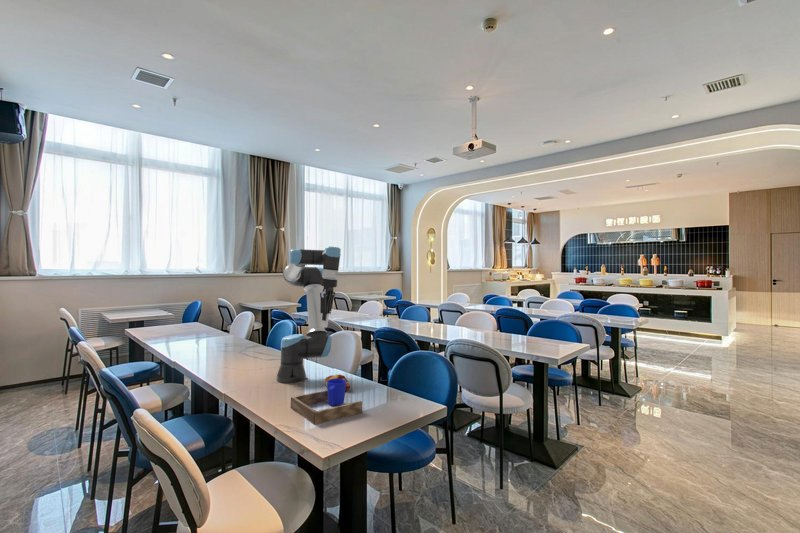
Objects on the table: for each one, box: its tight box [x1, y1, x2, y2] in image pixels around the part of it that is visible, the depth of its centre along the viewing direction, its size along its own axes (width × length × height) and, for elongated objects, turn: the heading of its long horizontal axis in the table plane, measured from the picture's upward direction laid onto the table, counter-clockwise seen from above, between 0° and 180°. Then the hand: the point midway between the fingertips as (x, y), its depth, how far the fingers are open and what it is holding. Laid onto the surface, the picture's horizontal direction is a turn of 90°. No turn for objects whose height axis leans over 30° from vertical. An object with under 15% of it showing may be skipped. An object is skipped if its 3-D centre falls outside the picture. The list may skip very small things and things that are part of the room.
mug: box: [326, 379, 346, 407], centre depth 164 cm, size 8×12×10 cm
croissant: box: [324, 374, 351, 392], centre depth 191 cm, size 21×10×8 cm, turn 44°
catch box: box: [290, 389, 363, 425], centre depth 158 cm, size 21×22×4 cm
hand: (324, 326), depth 184 cm, fingers closed
